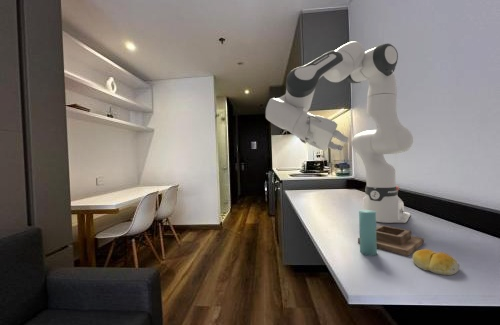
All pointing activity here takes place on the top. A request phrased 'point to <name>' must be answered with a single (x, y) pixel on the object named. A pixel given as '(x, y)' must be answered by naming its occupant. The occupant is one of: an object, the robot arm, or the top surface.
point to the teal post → (367, 232)
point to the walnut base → (396, 240)
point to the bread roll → (435, 262)
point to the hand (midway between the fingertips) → (344, 145)
